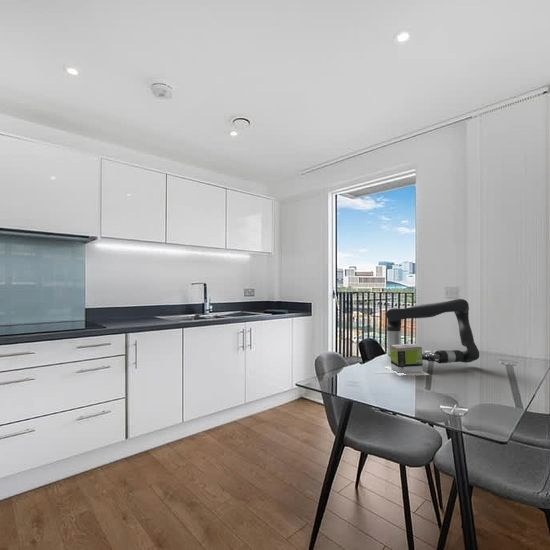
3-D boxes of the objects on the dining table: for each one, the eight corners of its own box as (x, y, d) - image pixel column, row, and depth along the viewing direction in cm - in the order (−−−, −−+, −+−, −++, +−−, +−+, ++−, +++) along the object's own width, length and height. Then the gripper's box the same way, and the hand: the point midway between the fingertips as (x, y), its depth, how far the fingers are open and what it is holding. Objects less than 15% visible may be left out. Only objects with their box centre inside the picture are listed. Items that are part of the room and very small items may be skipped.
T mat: (364, 368, 203) (364, 367, 203) (411, 365, 206) (411, 365, 206) (378, 377, 183) (378, 377, 183) (429, 375, 186) (429, 374, 186)
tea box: (414, 367, 201) (413, 343, 201) (423, 372, 191) (422, 346, 191) (390, 368, 199) (389, 344, 199) (398, 373, 189) (397, 347, 189)
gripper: (438, 348, 205) (411, 349, 203) (451, 352, 192) (423, 354, 190) (438, 360, 205) (412, 361, 203) (452, 365, 192) (424, 367, 190)
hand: (417, 358), depth 196 cm, fingers closed
